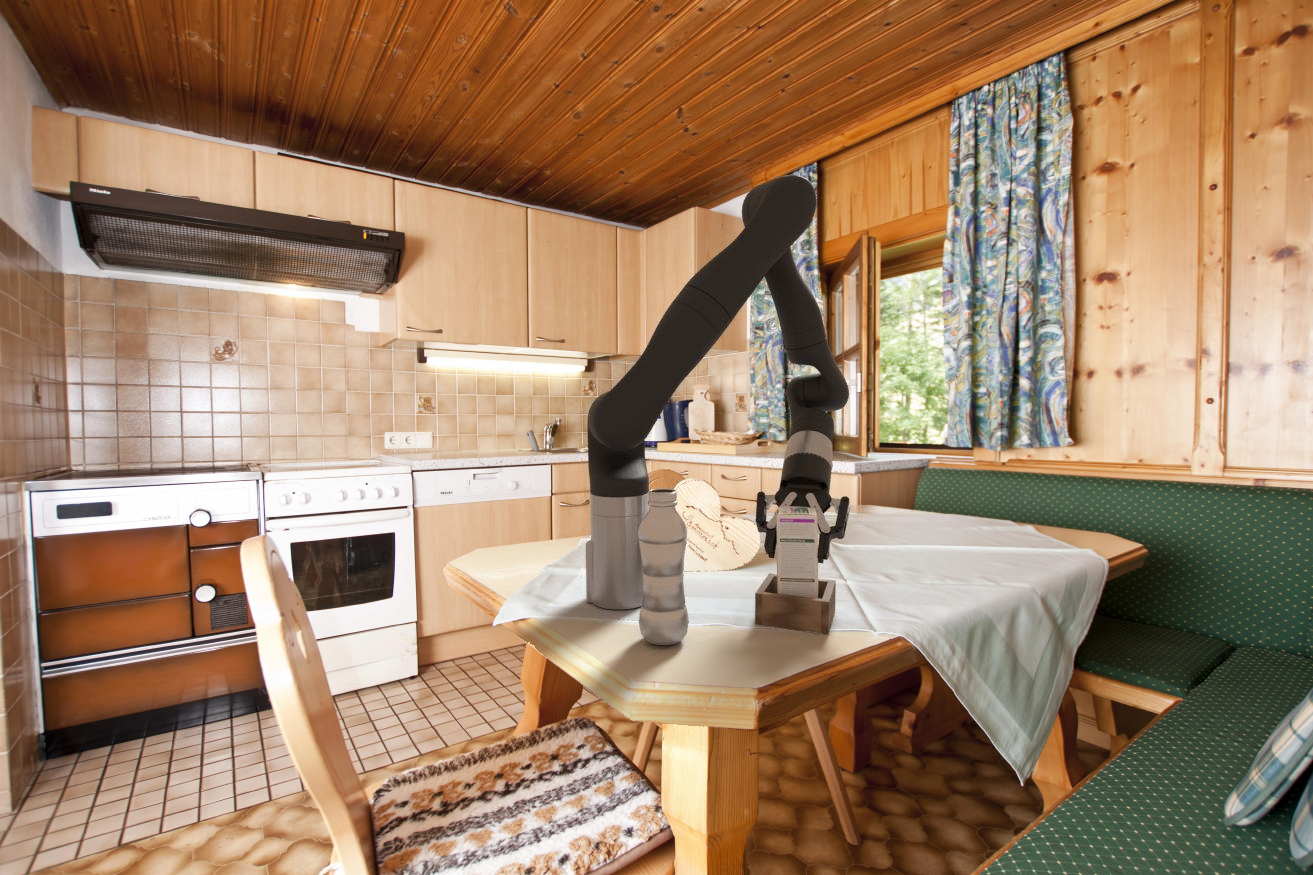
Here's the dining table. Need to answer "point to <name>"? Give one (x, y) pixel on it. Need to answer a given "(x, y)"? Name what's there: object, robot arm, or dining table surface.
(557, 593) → the dining table surface
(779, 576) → the syrup box
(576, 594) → the dining table surface
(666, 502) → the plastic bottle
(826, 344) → the robot arm
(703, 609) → the dining table surface
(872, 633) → the dining table surface
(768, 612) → the walnut sleeve
